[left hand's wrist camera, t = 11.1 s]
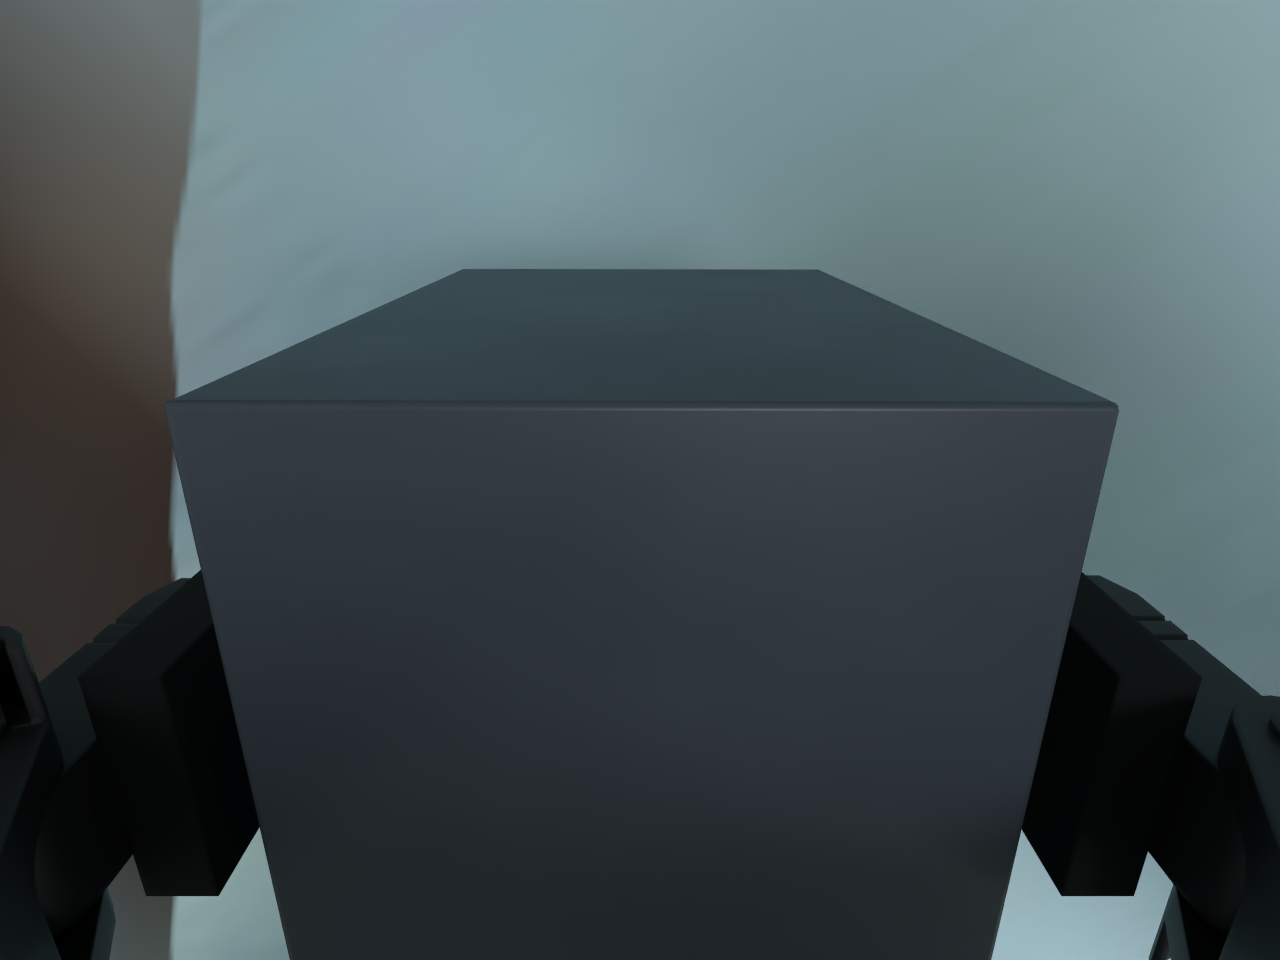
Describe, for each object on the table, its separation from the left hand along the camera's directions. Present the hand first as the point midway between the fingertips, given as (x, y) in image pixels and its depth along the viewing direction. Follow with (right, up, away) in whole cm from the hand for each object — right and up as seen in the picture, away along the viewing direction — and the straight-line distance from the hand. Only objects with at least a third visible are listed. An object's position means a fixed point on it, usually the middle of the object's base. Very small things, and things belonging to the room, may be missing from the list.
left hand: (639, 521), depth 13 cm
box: (0, -6, +4) cm, 7 cm away
